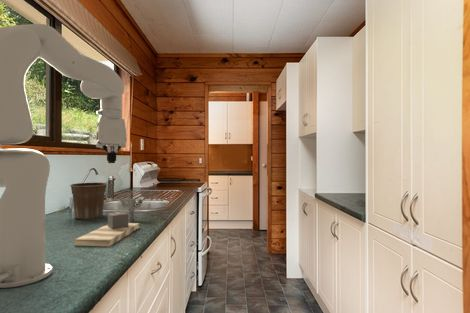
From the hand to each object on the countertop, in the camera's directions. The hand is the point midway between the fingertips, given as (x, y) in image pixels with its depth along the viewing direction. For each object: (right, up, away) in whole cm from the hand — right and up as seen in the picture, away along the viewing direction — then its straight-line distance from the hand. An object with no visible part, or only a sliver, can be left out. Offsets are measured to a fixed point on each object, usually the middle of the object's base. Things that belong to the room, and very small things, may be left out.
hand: (111, 162), depth 111 cm
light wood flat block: (+1, -27, -3) cm, 27 cm away
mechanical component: (0, -27, +22) cm, 35 cm away
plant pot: (-24, -27, +30) cm, 47 cm away
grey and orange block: (+1, -25, +3) cm, 25 cm away
